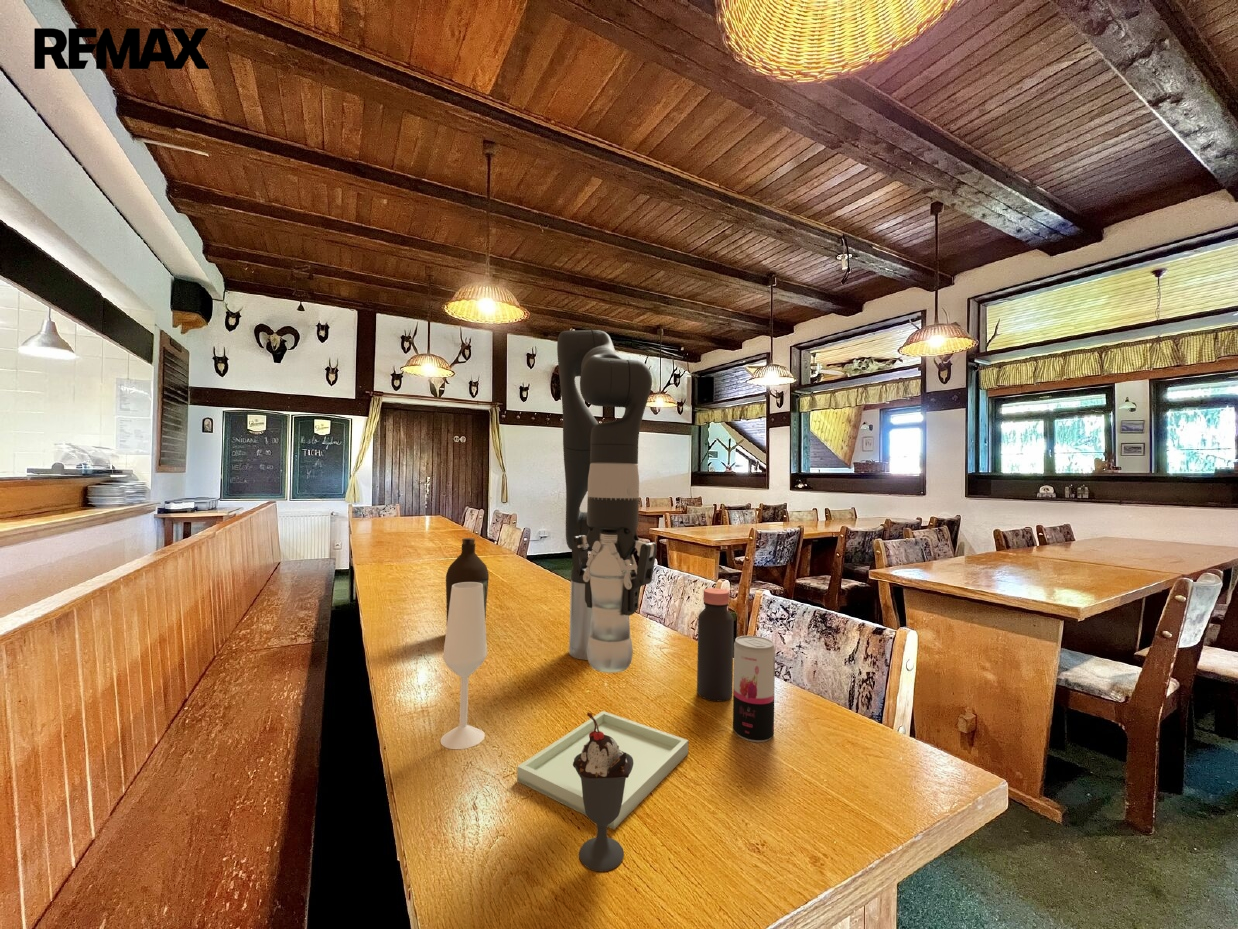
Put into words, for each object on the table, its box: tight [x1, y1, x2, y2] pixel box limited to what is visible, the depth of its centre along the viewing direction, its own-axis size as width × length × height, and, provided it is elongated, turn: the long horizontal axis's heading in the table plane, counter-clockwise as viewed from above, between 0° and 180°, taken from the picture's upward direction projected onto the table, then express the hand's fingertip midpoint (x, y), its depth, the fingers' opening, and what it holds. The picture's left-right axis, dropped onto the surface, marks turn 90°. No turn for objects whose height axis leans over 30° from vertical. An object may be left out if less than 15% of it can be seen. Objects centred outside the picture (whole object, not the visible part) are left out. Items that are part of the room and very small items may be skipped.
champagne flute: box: [440, 582, 488, 750], centre depth 79 cm, size 7×7×24 cm
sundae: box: [573, 712, 634, 872], centre depth 55 cm, size 7×7×15 cm
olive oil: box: [445, 537, 489, 622], centre depth 128 cm, size 11×11×25 cm
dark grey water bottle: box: [696, 587, 735, 702], centre depth 97 cm, size 7×7×20 cm
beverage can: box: [732, 635, 776, 743], centre depth 82 cm, size 7×6×15 cm
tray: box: [516, 710, 689, 830], centre depth 71 cm, size 20×16×2 cm
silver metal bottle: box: [587, 531, 634, 674], centre depth 72 cm, size 6×7×20 cm
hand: (610, 610), depth 72 cm, fingers closed on silver metal bottle, 6 cm apart
